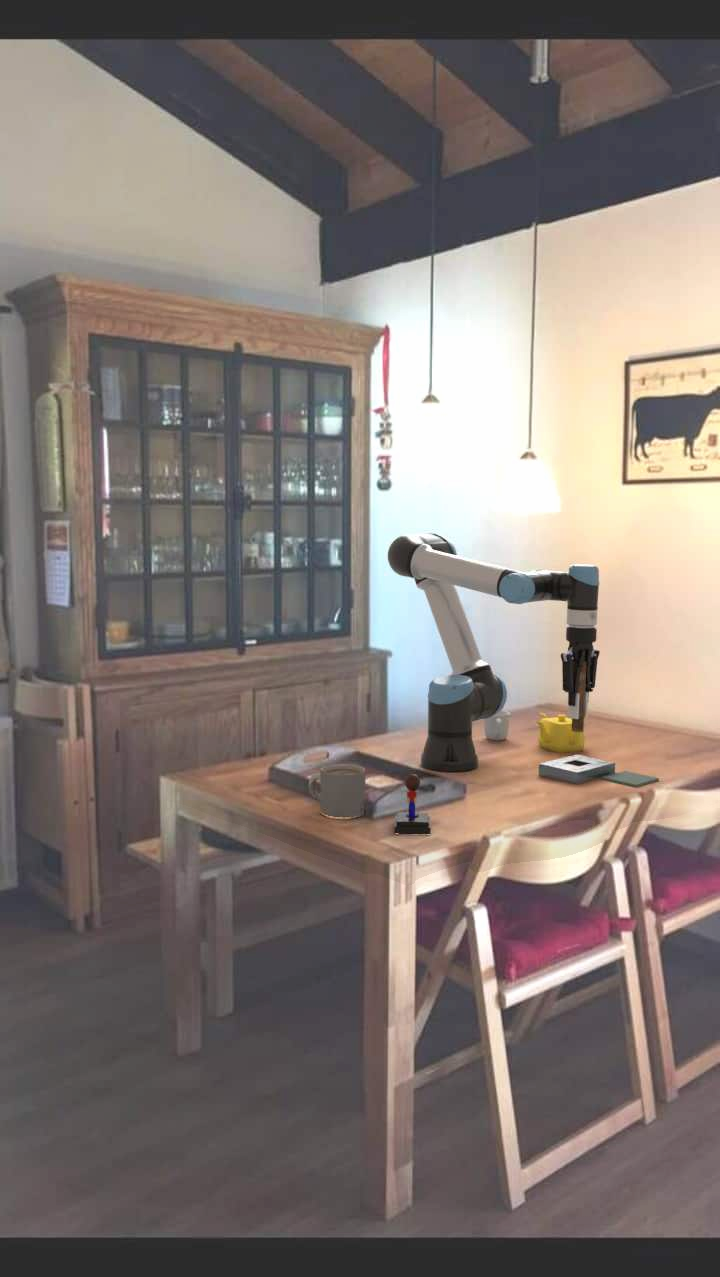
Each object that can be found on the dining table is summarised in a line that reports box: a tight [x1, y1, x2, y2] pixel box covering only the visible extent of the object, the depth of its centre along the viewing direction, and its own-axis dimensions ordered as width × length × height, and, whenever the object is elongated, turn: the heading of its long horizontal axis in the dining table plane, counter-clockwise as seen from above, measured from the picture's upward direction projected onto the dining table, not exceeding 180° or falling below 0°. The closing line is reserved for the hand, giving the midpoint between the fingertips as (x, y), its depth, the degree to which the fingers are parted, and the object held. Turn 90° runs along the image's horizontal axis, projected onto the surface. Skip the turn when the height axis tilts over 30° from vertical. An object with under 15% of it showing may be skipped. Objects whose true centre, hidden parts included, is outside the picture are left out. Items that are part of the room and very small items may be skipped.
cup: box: [483, 710, 511, 741], centre depth 308 cm, size 11×8×8 cm
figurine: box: [393, 773, 432, 835], centre depth 219 cm, size 8×8×12 cm
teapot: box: [534, 712, 589, 754], centre depth 298 cm, size 15×14×10 cm
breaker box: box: [538, 754, 616, 785], centre depth 267 cm, size 16×12×3 cm
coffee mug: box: [308, 763, 366, 818], centre depth 232 cm, size 13×10×10 cm
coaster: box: [601, 770, 660, 788], centre depth 262 cm, size 10×10×1 cm
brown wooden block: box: [571, 662, 586, 732], centre depth 265 cm, size 3×3×18 cm
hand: (577, 717), depth 266 cm, fingers closed on brown wooden block, 3 cm apart
